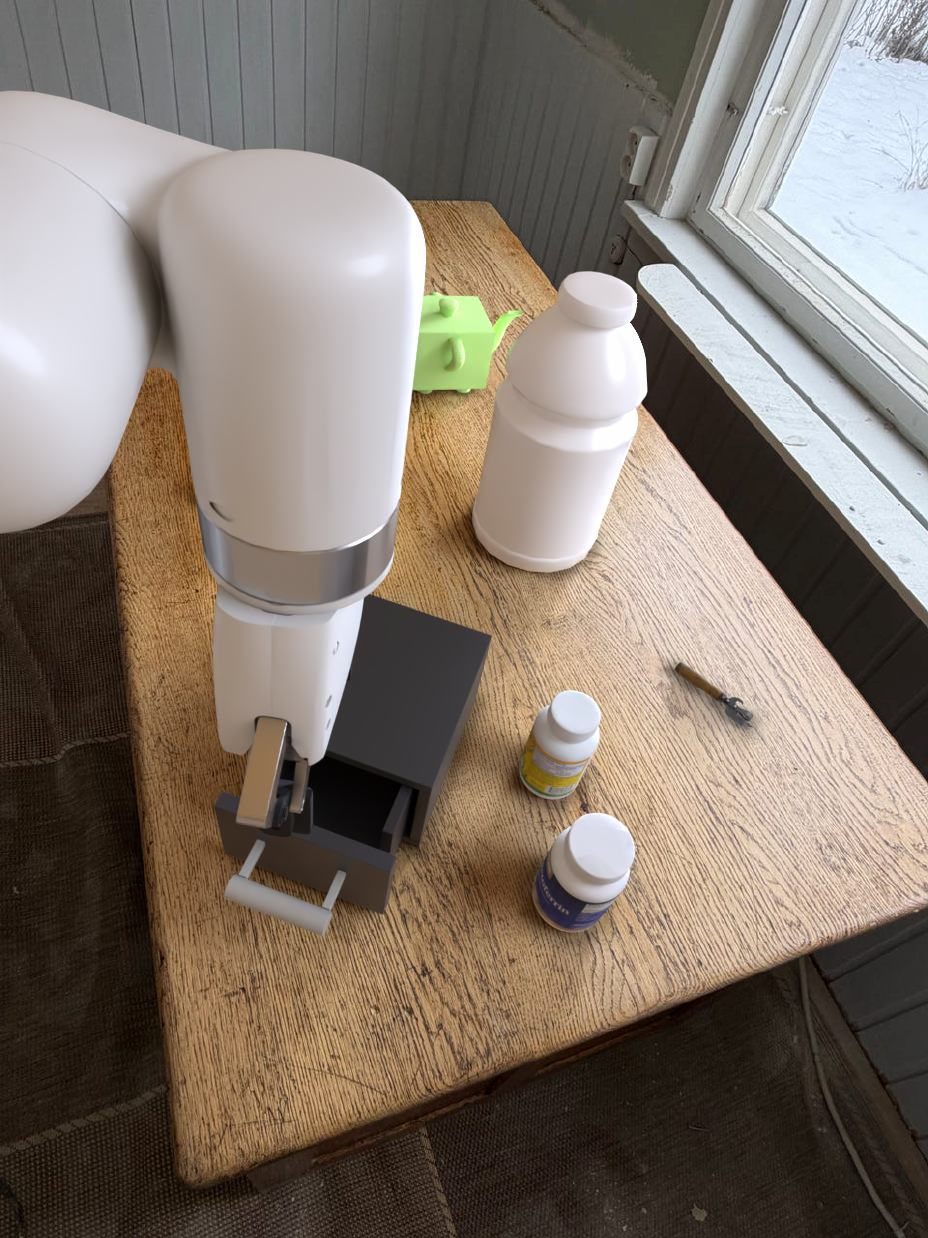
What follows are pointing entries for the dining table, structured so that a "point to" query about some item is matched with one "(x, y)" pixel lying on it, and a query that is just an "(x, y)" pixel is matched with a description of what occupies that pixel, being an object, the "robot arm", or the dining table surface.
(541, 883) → the pill bottle
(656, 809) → the dining table surface
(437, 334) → the teapot
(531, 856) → the dining table surface
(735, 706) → the can opener
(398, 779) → the small drawer cabinet
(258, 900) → the cabinet drawer
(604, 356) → the bottle
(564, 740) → the supplement bottle
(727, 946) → the dining table surface
